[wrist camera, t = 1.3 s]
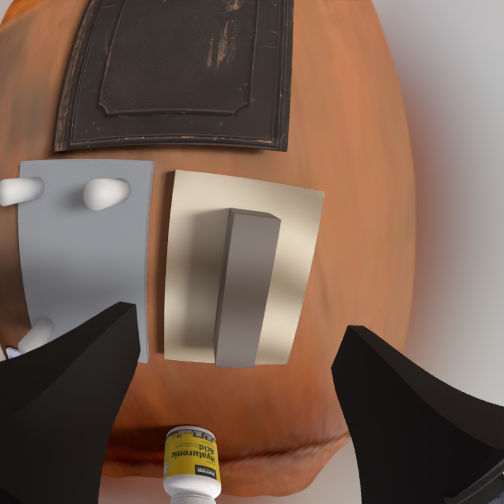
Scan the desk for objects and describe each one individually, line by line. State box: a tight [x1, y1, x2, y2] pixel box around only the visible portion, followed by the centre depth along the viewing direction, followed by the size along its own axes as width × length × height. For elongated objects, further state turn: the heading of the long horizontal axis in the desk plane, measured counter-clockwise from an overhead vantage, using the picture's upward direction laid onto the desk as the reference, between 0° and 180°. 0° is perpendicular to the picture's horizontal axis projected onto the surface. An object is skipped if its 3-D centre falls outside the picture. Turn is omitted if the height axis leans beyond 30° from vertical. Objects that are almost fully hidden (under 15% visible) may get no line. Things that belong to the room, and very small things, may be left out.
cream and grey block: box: [164, 170, 325, 368], centre depth 18 cm, size 14×10×4 cm
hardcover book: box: [53, 0, 294, 153], centre depth 13 cm, size 16×23×2 cm
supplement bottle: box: [163, 426, 221, 504], centre depth 19 cm, size 5×5×10 cm
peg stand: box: [0, 159, 155, 363], centre depth 15 cm, size 15×11×5 cm
